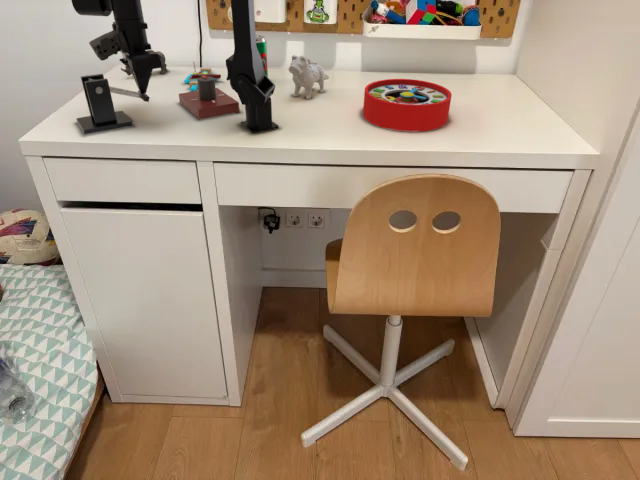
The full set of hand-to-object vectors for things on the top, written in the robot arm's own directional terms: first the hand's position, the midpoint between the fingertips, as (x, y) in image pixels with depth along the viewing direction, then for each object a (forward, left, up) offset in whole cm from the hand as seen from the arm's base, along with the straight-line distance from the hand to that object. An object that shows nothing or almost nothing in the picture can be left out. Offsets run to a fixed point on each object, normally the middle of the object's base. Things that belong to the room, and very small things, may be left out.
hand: (143, 93), depth 110 cm
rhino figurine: (+34, -10, -6) cm, 36 cm away
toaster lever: (0, +6, 0) cm, 6 cm away
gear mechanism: (+20, -22, -6) cm, 30 cm away
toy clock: (-29, -53, -6) cm, 60 cm away
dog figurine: (-4, -41, -6) cm, 41 cm away
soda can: (+12, -35, -6) cm, 37 cm away
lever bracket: (0, +9, -6) cm, 11 cm away
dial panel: (-1, -15, -6) cm, 16 cm away
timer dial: (-1, -15, -3) cm, 15 cm away
